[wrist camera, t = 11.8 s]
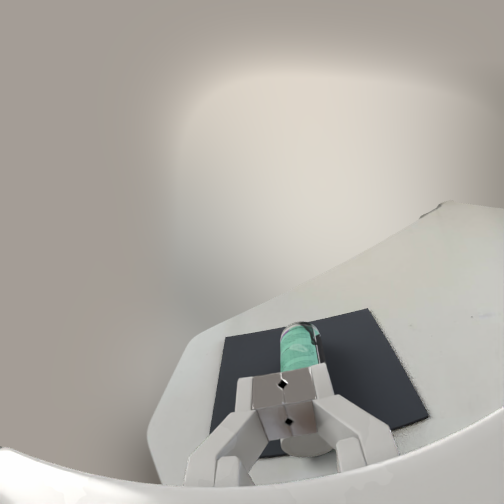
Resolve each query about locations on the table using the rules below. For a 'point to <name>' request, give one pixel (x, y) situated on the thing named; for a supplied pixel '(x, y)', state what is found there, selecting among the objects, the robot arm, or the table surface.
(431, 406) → the table surface
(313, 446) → the spray can
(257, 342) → the mat
